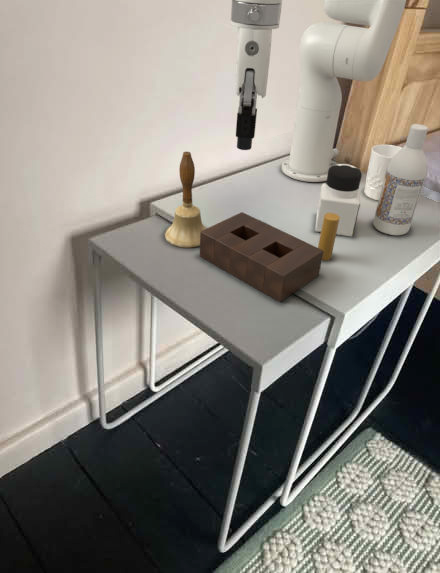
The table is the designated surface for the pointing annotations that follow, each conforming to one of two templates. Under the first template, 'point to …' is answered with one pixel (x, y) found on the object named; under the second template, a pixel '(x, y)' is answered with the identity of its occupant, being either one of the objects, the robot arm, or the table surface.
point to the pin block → (261, 255)
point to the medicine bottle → (340, 198)
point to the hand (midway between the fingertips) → (245, 133)
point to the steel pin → (244, 143)
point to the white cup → (378, 168)
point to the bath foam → (402, 185)
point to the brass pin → (328, 234)
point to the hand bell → (186, 211)
